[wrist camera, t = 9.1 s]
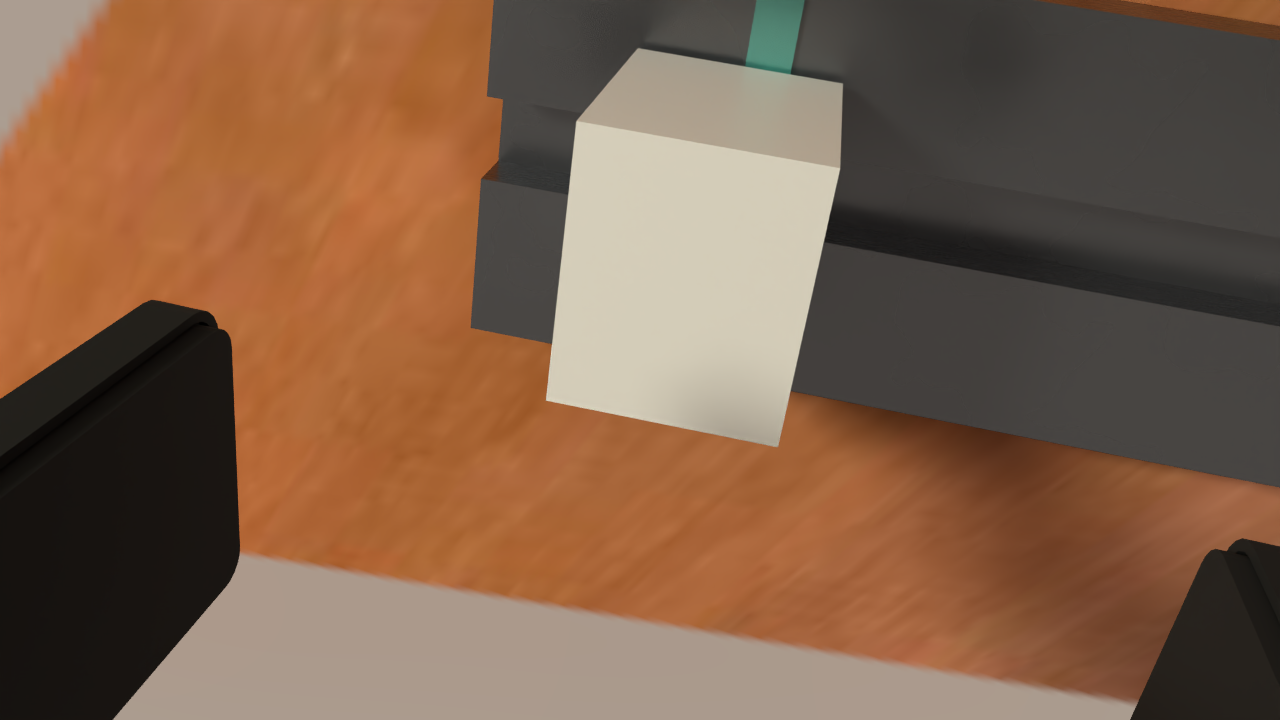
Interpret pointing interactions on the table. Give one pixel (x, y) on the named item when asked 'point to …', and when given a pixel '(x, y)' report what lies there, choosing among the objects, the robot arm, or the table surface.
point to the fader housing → (971, 206)
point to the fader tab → (694, 243)
